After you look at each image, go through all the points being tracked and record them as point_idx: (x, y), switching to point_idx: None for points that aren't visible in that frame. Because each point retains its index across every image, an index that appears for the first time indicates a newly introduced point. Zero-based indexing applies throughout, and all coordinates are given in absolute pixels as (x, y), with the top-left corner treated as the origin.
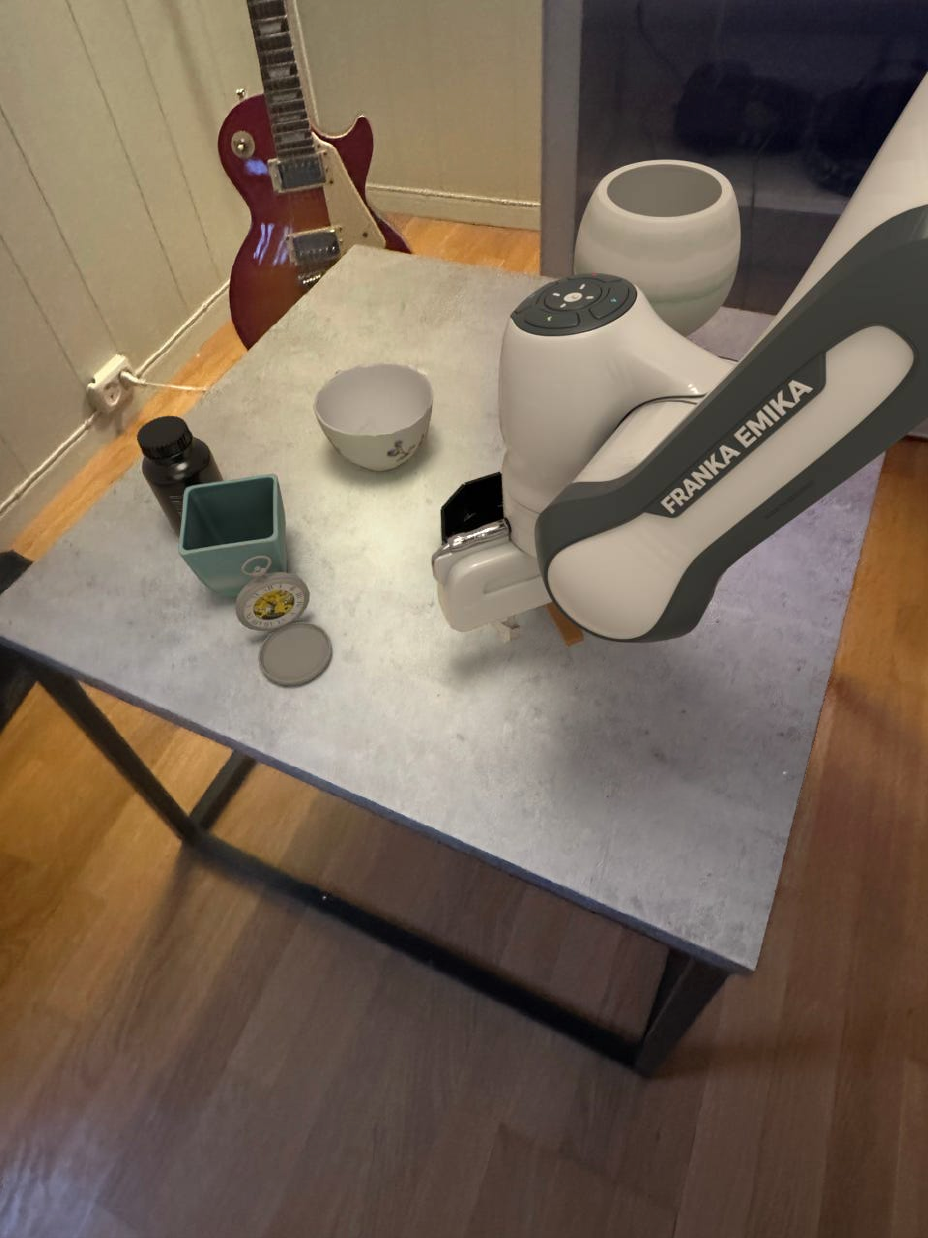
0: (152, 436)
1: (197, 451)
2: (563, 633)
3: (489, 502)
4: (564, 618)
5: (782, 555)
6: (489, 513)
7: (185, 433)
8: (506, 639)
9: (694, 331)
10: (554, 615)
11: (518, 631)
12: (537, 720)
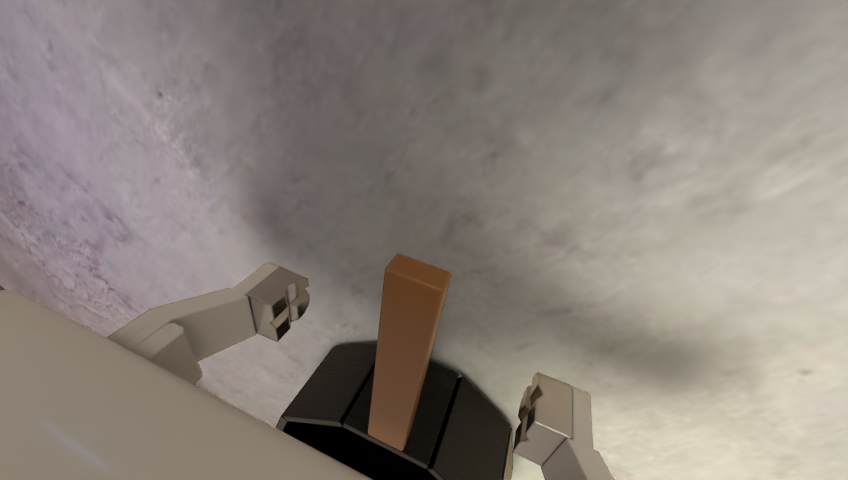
0: None
1: None
2: (434, 314)
3: (387, 469)
4: (402, 337)
5: (54, 134)
6: (397, 455)
7: None
8: (585, 404)
9: None
10: (419, 359)
11: (542, 405)
12: (671, 143)
